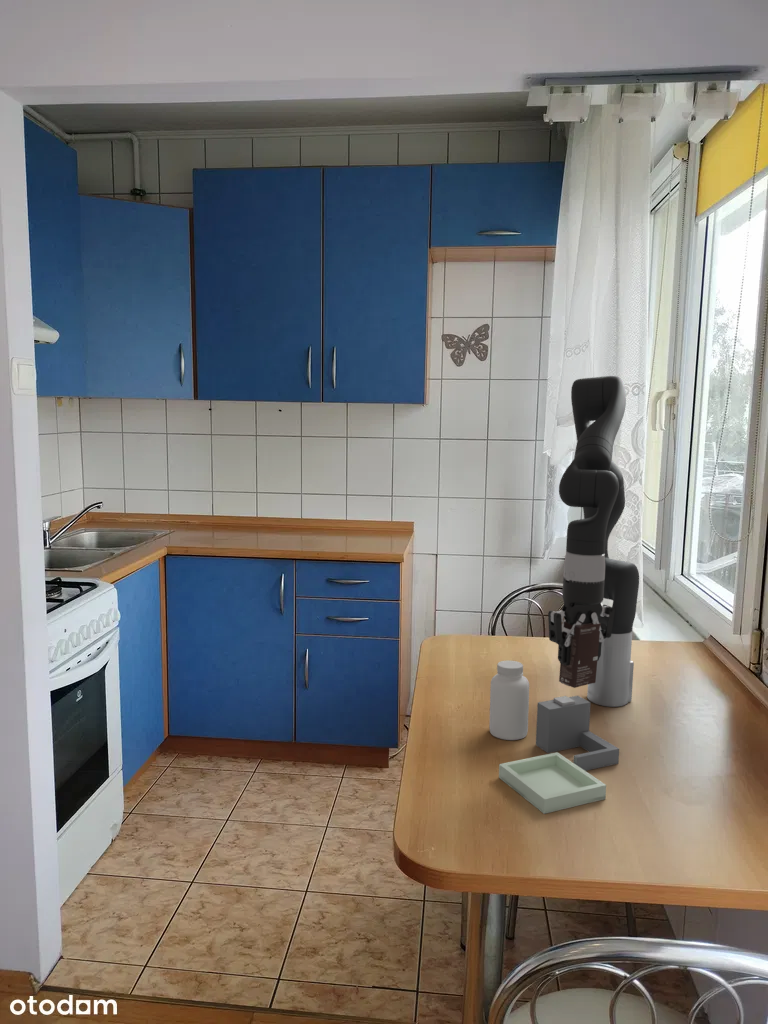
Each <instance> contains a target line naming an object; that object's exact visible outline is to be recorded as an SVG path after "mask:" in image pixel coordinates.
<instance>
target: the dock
mask: <svg viewBox="0 0 768 1024" xmlns="http://www.w3.org/2000/svg"><path fill="white" fill-rule="evenodd" d="M591 703H592V702H591V701H590V700H588V699H586V698H583V697H582V696H580V695H574V696H573V695H572V696H567V695H564V696H558V697H557V696H556V697H553V699H549V700H544V701H539V702H538V701H537V706H536V707H537V708H536V709H537V710H536V713H537V714H536V728H535V732H536V733H535V745H536V747H538V748H540V749H541V750H542V751H544V752H546V754H551V753H556V752H559V751H560V752H561V751H565V750H569V749H573V748H574V749H575V748H579V747H581V748H582V749H584V750H585V751H587V752H584V753H578V754H575V755H573V760H572V761H573V763H574V764H576V765H577V766H579V767H580V768H582V769H583V770H585V771H586V772H587V771H591V770H595V769H600V768H605V767H608V766H614V765H617V764H618V765H619V760H620V759H619V757H620V748H619V747H618V746H615V744H612V743H610V742H608V740H606V739H603V738H602V737H600V736H599V735H597V734H595V733H593V732H592V731H590V723H591V721H590V719H591Z"/></svg>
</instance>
